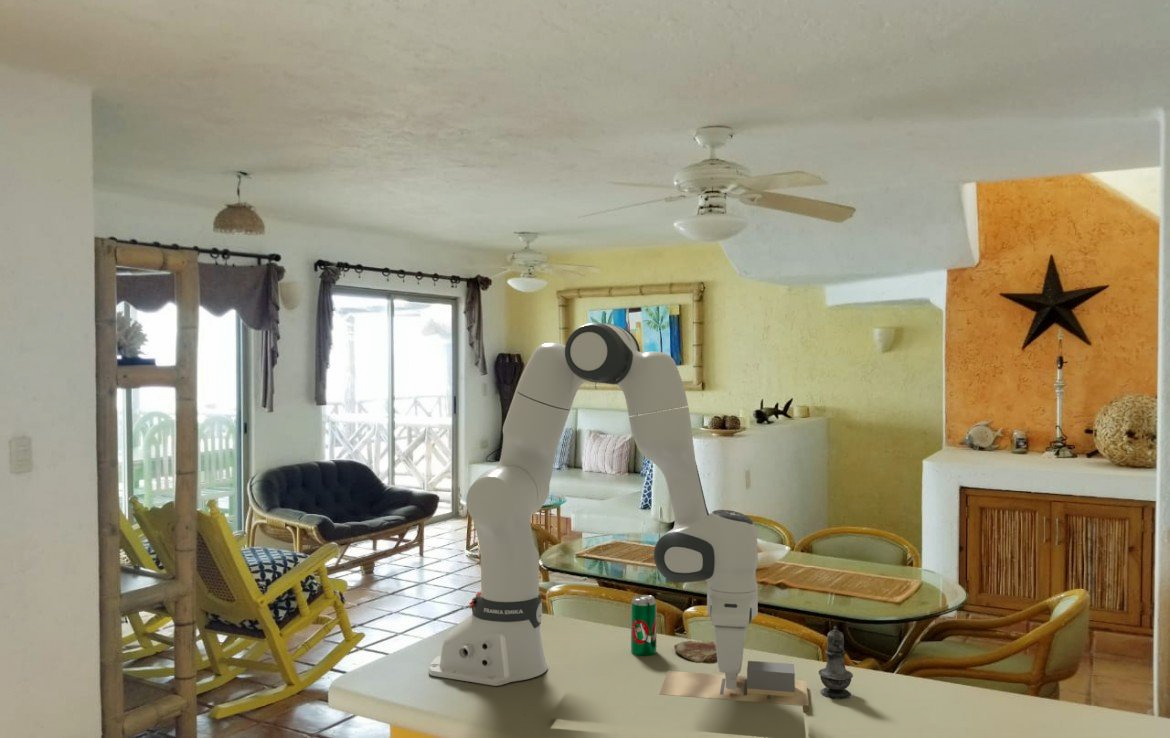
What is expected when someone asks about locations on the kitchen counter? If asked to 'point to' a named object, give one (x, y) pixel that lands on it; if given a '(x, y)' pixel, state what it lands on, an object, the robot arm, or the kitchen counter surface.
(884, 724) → the kitchen counter surface
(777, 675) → the block
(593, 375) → the robot arm
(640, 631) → the soda can
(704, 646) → the oyster shell
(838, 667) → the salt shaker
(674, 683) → the board
